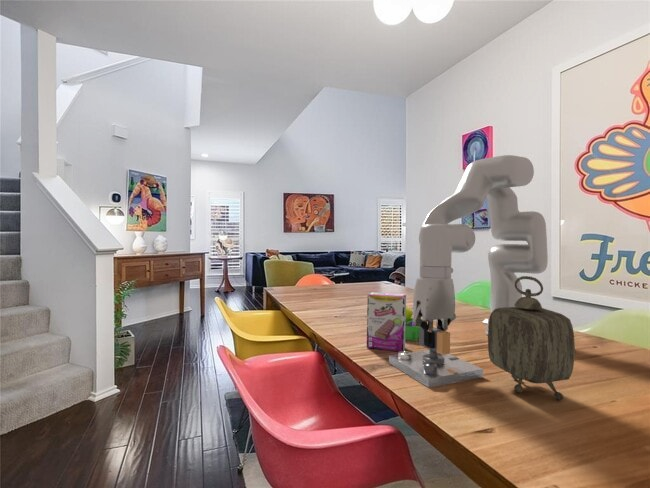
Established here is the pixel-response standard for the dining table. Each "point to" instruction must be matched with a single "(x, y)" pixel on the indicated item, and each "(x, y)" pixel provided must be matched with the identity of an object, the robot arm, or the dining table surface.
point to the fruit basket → (411, 327)
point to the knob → (436, 346)
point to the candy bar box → (386, 321)
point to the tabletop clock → (531, 341)
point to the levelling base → (441, 369)
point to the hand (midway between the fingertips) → (434, 345)
